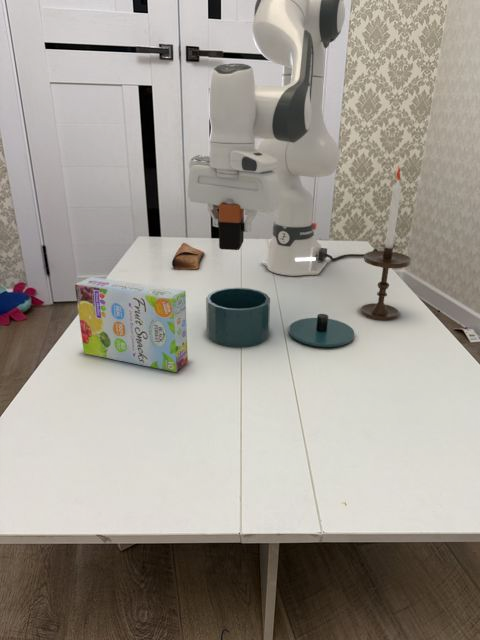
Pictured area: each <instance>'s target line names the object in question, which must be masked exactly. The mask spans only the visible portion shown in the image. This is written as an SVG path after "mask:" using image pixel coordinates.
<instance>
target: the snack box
mask: <svg viewBox="0 0 480 640" xmlns="http://www.w3.org/2000/svg"><path fill="white" fill-rule="evenodd" d="M74 290H75V298H76V304H77V312H78V321H79V326H80V334H81V335H80V336H81V342H82V348H83V349H82V350H83V354H85V355H88V356H89V355H90V356H95V357H100V358H105V359H111V360H115V361H119V362H125V363H130V364H135V365H140V366H145V367H149V368H155V369H160V370H165V371H169V372H173V373H177V372H178V371H179V370H180V369H181V368H183V366H184V365H186V364H187V363H188V362H189V360H188V358H189V356H188V353H189V352H188V329H187V298H186V297H187V296H186V295H187V293H186V290H185V289H177V288H171V287H163V286H156V285H150V284H142V283H136V282H129V281H123V280H115V279H109V278H101V277H96V276H89V277H87V278H85V279H83V280H81V281H79V282H76V283H75V284H74Z"/></svg>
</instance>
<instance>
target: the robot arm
mask: <svg viewBox="0 0 480 640" xmlns="http://www.w3.org/2000/svg"><path fill="white" fill-rule="evenodd" d="M253 16H254V17H253V21H252V29H251V30H252V32H251V33H252V39H253V42H254V45H255V47H256V49H257V50H258V51H259V53H260V54H261V55H262V56H263V57H264V58H265V59H266V60H268V61H270V62H271V63H273V64H277V65H282V77H281V86H268V85H266V86H265V85H256V84H255V75H254V70H253V67H252V66H251V65H249V64H245V63H223V64H219V65H216V67H214V68H213V69H212V71H211V74H210V75H211V76H210V81H209V90H208V91H209V92H208V93H209V94H208V119H209V122H210V135H209V140H208V141H209V142H208V143H209V145H208V146H209V155H201V154H195V155H194V156H193V157H191V159H190V160H189V163H188V168H189V172H188V180H187V197H188V199H189V201H190V202H192V203H197V204H205V205H207V211H208V214H209V215H210V217H211V219H212V227H215V228H219V205H220V203H222V202H224V203H226V202H227V200H233V203H234V204H238V205H240V208H241V209H244V216H246V218H245V219H244V222H241V231H244V233H249V232H251V231H252V223H253V221H254V219H255V218H256V216H257V212H258V213H259V212H262V213H267V214H268V213H272V212H274V222H273V223H272V237H271V238H270V239H269V241H268V247H267V248H268V249H267V256H266V257H267V258H266V260H263V265H264V266H265V267H266V268H267V270H268V271H270V272H271V273H274V274H277V275H281V276H289V277H290V276H292V277H293V276H294V277H299V276H316V275H317V276H318V275H319V274H320V273H321V272H322V270H323V269H324V268H325V266H327V264H328V259H327V258H329V259H330V261H332V262H335V261H338V260H340V259H344V258H349V257H352V258H353V257H357V258H358V257H360V258H361V257H362V258H364V255H365V254H366V253H348V254H347V253H346V254H342V255H339V256H335V257H333V256H332V255H331V254H328V248H326V247H322V245H321V244H320V243H319V241H318V240H317V239H316V238H315V236H314V235H315V234H314V233H315V232H314V231H315V230H317V226H318V225H317V222H313V211H314V210H313V207H314V199H313V195H312V194H311V192H310V191H308V190H307V189H306V188H305V187H304V185H303V183H302V180H301V177H309V178H322V177H329V176H331V175H332V174H333V173H335V171H336V170H337V168H338V166H339V164H340V159H341V152H340V148H339V147H340V146H339V144H338V143H337V141H336V140H335V139H334V138H333V136H331V134H330V132H329V131H328V129H327V126H326V124H325V120H324V116H323V115H324V114H323V92H324V78H325V49H327V48H329V46H330V43H333V42H334V41H335V40H336V39H337V38H338V37H339V35H340V34H341V31H342V28H343V27H344V23H345V19H346V8H345V3H344V0H256V2H255V5H254V14H253ZM256 139H257V140H258V139H260V140H259V141H258V144H257V146H256ZM372 251H379V250H378V249H377V248H374V249H373V250H372Z"/></svg>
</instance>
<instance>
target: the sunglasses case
mask: <svg viewBox="0 0 480 640" xmlns="http://www.w3.org/2000/svg"><path fill="white" fill-rule="evenodd" d="M204 256H205V252H204V251H203V250H200V249H197V248H195V247H192V246H191V245H190V244H188V243H186V242H182V243H181V245H180V246H179V248H178V249H177V251H176V252H175V254H174V256H173V259H172V261H171V265H172V267H173V268H174V269H175V270H182V271H183V270H185V271H186V270H187V271H188V270H197V269H199V268H200V262H201V261H202V258H203V257H204Z"/></svg>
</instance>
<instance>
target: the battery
mask: <svg viewBox="0 0 480 640" xmlns="http://www.w3.org/2000/svg"><path fill="white" fill-rule="evenodd" d="M218 214H219V227H218V248H219V249H220V250H230V251H240V250H241V247H242V245H243V243H244V233H245V232H244V231H241V222H245V209H241V208H240V205H238V204H234V203H233V200H227V202H226V203H224V202H222V203H220V205H219V208H218Z"/></svg>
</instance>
